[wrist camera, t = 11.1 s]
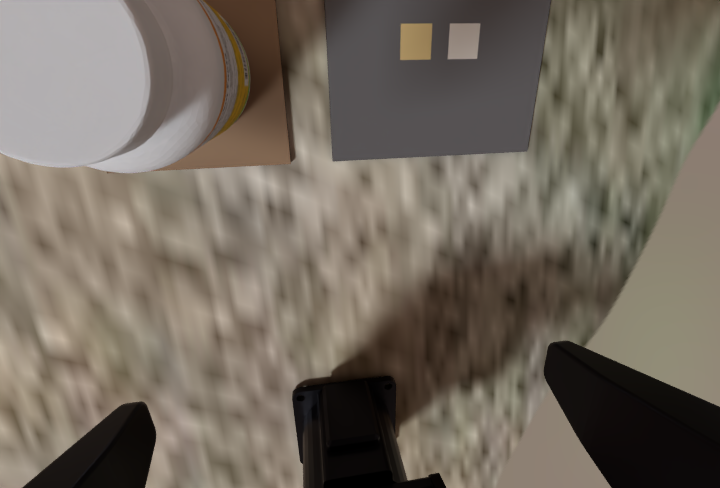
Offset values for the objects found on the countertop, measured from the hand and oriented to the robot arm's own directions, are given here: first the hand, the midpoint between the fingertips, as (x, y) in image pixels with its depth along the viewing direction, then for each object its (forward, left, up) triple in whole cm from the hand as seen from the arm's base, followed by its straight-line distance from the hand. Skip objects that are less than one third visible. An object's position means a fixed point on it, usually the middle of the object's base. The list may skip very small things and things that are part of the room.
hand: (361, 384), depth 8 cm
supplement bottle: (+7, +5, -12) cm, 15 cm away
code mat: (+8, -5, -12) cm, 15 cm away
